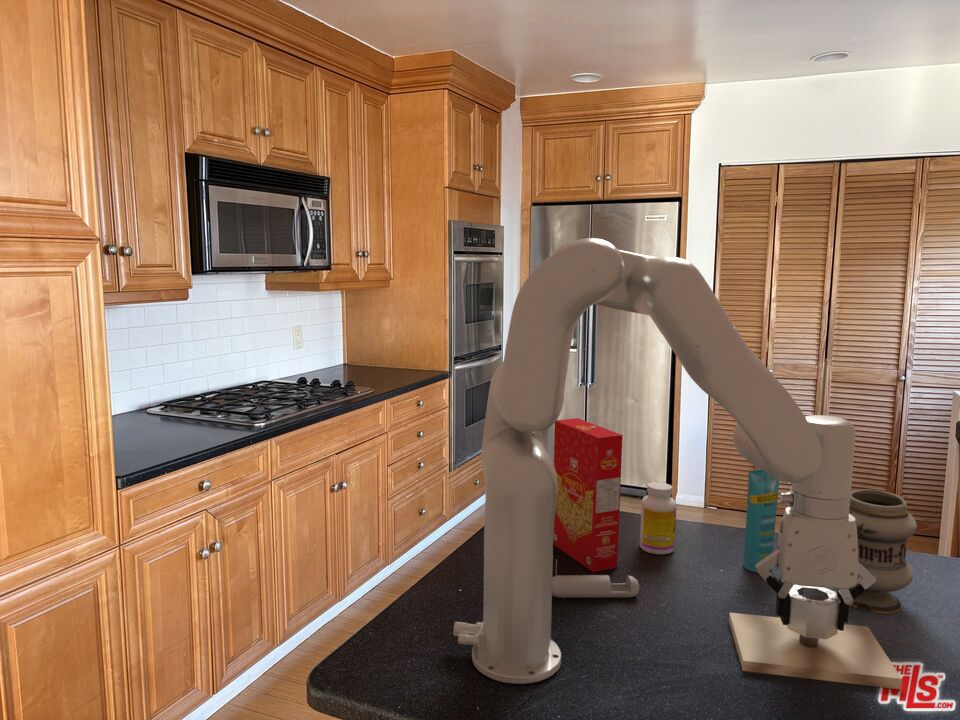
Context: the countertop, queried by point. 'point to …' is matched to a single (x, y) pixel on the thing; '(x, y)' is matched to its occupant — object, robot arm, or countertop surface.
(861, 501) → the apothecary jar
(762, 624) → the base
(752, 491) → the tube
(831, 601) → the steel hub
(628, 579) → the torpedo
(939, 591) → the countertop surface
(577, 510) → the food packaging
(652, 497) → the supplement bottle
